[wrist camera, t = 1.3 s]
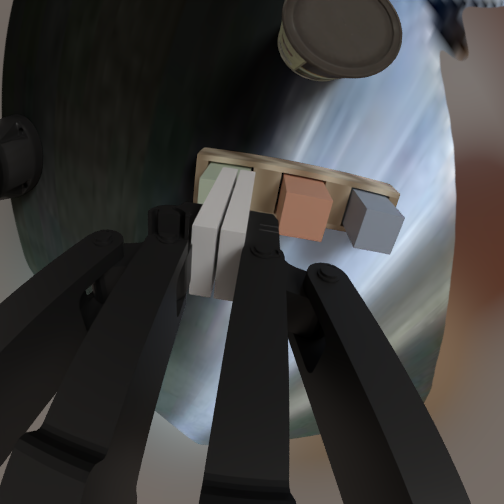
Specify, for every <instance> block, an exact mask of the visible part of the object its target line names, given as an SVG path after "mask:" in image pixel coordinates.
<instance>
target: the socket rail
mask: <svg viewBox="0 0 504 504" xmlns="http://www.w3.org/2000/svg"><path fill="white" fill-rule="evenodd" d="M211 162H221V163H228V164H235V165H241V166H248V167H254V171H253V172H256V173H255V179H254V185H253V192H252V198H251V205H250V211H257V212H263V213H269V214H273V215H274V216H275V217H276V218H277V216H276V207H277V203H276V199H277V195H278V190H279V185H280V180H281V175H282V172H283V173H288V174H294V175H299V176H304V177H309V178H314V179H318V180H322V181H323V183H324V185H325V186H326V188H327V190H328V192H329V194H330V196H331V198H332V200H333V204H332V207H331V211H330V214H329V217H328V221H327V224H326V228H328V229H333V230H338V231H344V232H346V230H345V228H344V226H343V224H342V222H341V221H342V218H343V215H344V212H345V208H346V205H347V202H348V199H349V195H350V192H351V188H352V187H354V188H358V189H362V190H366V191H370V192H374V193H378V194H382V195H385V196H386V197H387V198H388V199H389V200H390V202H391V203H392V204H393V205H394V206H395V207H396V205H397V202H398V199H399V196H400V193H399V192H397V191H396V190H395V189H394V188H393V187H392V186H391V185H390V184H387V183H384V182H380V181H376V180H373V179H369V178H365V177H361V176H357V175H353V174H349V173H345V172H341V171H336V170H332V169H328V168H323V167H319V166H314V165H309V164H304V163H299V162H294V161H289V160H284V159H278V158H273V157H267V156H261V155H255V154H249V153H242V152H236V151H229V150H221V149H214V148H205V147H204V148H203V149H202V150H201V151H200V152H199V153H198V154H197V163H196V174H195V185H194V198H193V203H197V202H198V190H199V180H200V177H201V176H202V174H203V173H204V171H205V170H206V169H207V167H208V166H209V165H210V163H211Z"/></svg>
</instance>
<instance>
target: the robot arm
mask: <svg viewBox="0 0 504 504" xmlns="http://www.w3.org/2000/svg"><path fill="white" fill-rule="evenodd" d="M42 165H43V152H42V145H41V141H40V138H39V135H38V132H37V130H36V128H35V127H34V125H33V124H32V122H31V121H30V120H29V119H28V118H26V117H25V116H23V115H19V114H13V115H10V116H7V117H4V118H2V119H0V200H3V199H9V198H14V197H19V196H22V195H24V194H25V193H27V192H28V191H30V190H31V189H32V188H34V186H35V185H36V184H37V182H38V180H39V178H40V175H41V171H42ZM255 173H256V172H253V171H247V170H240V173H239V176H238V179H237V174H238V169H234V168H227V167H223V168H222V170H221V172H220V174H219V176H218V177H217V179H216V181H215V183H214V185H213V187H212V188H211V190H210V192H209V194H208V196H207V198H206V200H205V202H204V203H203V204H199V203H192V202H185V203H183V204H181V205H179V206H175V205H162V206H157V207H154V208H152V209H150V210H149V211H148V236H147V238H146V239H145V241H144V242H142V243H125V244H124V242H123V236H122V235H121V234H120V233H119V232H117V231H113V230H100V231H97V232H94V233H92V234H90V235H88V236H87V237H85V238H84V239H83V240H81V241H80V242H78V243H77V244H75V245H74V246H73V247H71V248H70V249H68V250H67V251H66V252H64V253H63V254H62V255H60V256H59V257H58V258H56V259H55V260H54V261H52V262H51V263H50V264H48V265H47V266H46V267H44V268H43V269H42V270H40V271H39V272H38V273H37V274H35V275H34V276H33V277H32V278H30V279H29V280H28V281H27V282H26V283H24V284H23V285H22V286H20V287H19V288H18V289H17V290H16V291H14V292H13V293H12V294H11V295H10V296H9V297H7V298H6V299H5V300H4V301H3V302H2V303H0V466H1V465H2V464H3V463H4V461H5V460H6V459H7V457H8V456H9V455H10V453H11V452H12V453H11V456H10V459H9V461H8V464H7V467H6V470H5V473H4V476H3V479H2V482H1V485H0V504H137V494H136V485H137V480H138V475H139V471H140V467H141V462H142V458H143V454H144V450H145V446H146V442H147V438H148V434H149V430H150V426H151V422H152V419H153V415H154V411H155V407H156V404H157V400H158V396H159V393H160V389H161V386H162V382H163V379H164V375H165V372H166V368H167V365H168V361H169V358H170V354H171V351H172V348H173V344H174V341H175V338H176V335H177V331H178V328H179V325H180V322H181V318H182V315H183V312H184V309H185V306H186V292H187V289H188V287H189V294H192V295H198V296H204V297H210V296H211V293H212V289H213V285H214V281H215V290H214V298H216V299H222V300H228V301H233V303H232V309H231V314H230V320H229V326H228V332H227V338H226V343H225V349H224V355H223V361H222V367H221V373H220V379H219V385H218V391H217V397H216V403H215V409H214V415H213V421H212V427H211V434H210V440H209V447H208V453H207V459H206V465H205V472H204V477H203V483H202V489H201V494H200V500H199V504H296V501H295V499H294V498H293V496H292V494H291V493H290V489H289V363H288V339H289V342H290V345H291V348H292V351H293V354H294V357H295V360H296V363H297V366H298V369H299V372H300V375H301V378H302V381H303V384H304V387H305V389H306V392H307V395H308V398H309V401H310V404H311V407H312V410H313V413H314V416H315V419H316V422H317V425H318V428H319V431H320V434H321V437H322V440H323V443H324V446H325V449H326V452H327V455H328V458H329V461H330V464H331V467H332V470H333V473H334V476H335V479H336V482H337V485H338V488H339V491H340V494H341V497H342V500H343V503H344V504H471V503H470V500H469V498H468V495H467V493H466V490H465V488H464V486H463V483H462V481H461V479H460V476H459V474H458V472H457V470H456V467H455V466H454V463H453V461H452V459H451V457H450V455H449V453H448V450H447V448H446V446H445V444H444V442H443V440H442V438H441V436H440V434H439V432H438V430H437V428H436V426H435V424H434V422H433V420H432V418H431V416H430V414H429V413H428V411H427V408H426V407H425V405H424V403H423V401H422V399H421V397H420V395H419V394H418V392H417V390H416V388H415V386H414V384H413V383H412V381H411V379H410V377H409V376H408V374H407V372H406V370H405V368H404V367H403V365H402V363H401V362H400V360H399V358H398V356H397V355H396V353H395V351H394V350H393V348H392V346H391V344H390V343H389V341H388V339H387V338H386V336H385V334H384V333H383V331H382V330H381V328H380V326H379V325H378V323H377V321H376V320H375V318H374V317H373V315H372V313H371V312H370V310H369V309H368V307H367V305H366V304H365V302H364V301H363V299H362V298H361V296H360V295H359V293H358V291H357V290H356V288H355V287H354V285H353V284H352V282H351V281H350V279H349V278H348V276H347V275H346V274H345V273H344V272H343V271H342V270H341V269H339V268H337V267H336V266H334V265H331V264H328V263H314V264H312V265H310V266H309V267H308V269H307V271H304V270H301V269H299V268H296V267H294V266H292V265H290V264H289V263H287V262H286V261H285V257H284V254H283V251H281V250H280V241H279V223H278V219H277V218H276V217H275V216H274V215H273V214H269V213H263V212H257V211H250V205H251V198H252V192H253V185H254V179H255ZM236 181H237V182H236ZM215 277H216V280H215ZM91 285H92V289H93V292H91V293H90V294H89V295H87V294H86V291H85V290H86V289H87V288H88V287H89V286H91ZM56 392H57V393H56ZM55 394H56V395H55ZM54 395H55V397H54V400H53V402H52V404H51V406H50V409H49V411H48V413H47V415H46V418H45V420H44V422H43V424H42V426H41V427H40V429H38V430H37V431H32V432H26V431H27V430H28V428H29V427H30V426H31V424H32V423H33V422H34V420H35V419H36V418H37V416H38V415H39V414H40V413H41V411H42V410H43V409H44V407H45V406H46V405H47V404H48V402H49V401H50V400H51V399H52V397H53V396H54ZM25 432H26V433H25ZM12 450H13V451H12Z"/></svg>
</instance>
